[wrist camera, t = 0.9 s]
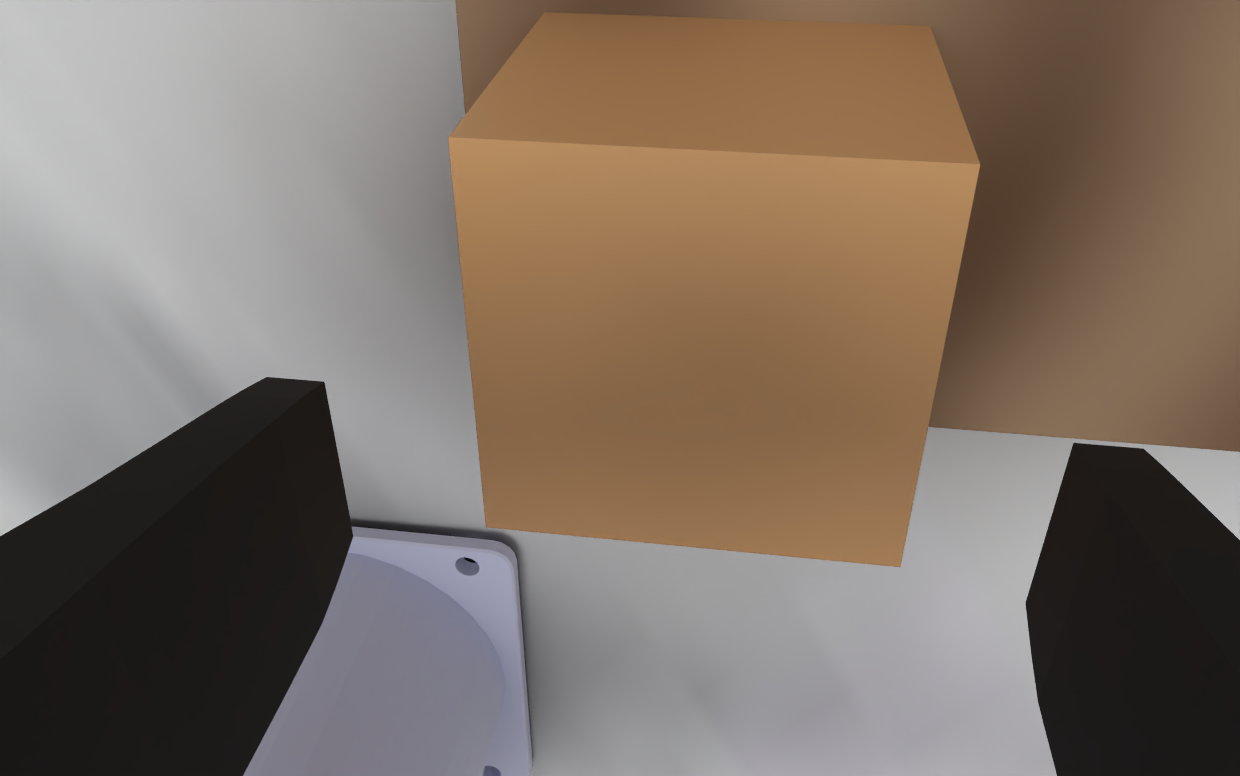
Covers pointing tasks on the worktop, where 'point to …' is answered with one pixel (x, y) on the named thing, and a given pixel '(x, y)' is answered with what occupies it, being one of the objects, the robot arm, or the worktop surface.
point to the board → (1055, 202)
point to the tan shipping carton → (711, 279)
